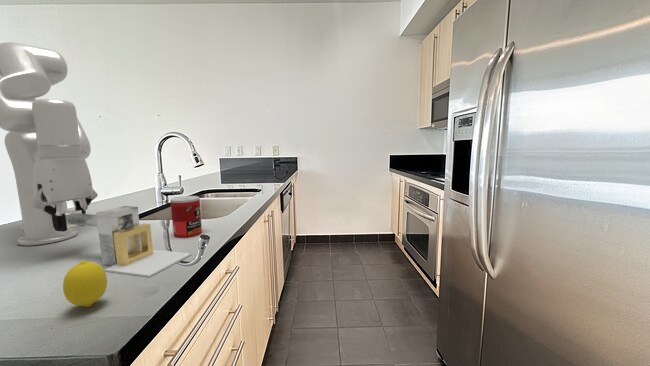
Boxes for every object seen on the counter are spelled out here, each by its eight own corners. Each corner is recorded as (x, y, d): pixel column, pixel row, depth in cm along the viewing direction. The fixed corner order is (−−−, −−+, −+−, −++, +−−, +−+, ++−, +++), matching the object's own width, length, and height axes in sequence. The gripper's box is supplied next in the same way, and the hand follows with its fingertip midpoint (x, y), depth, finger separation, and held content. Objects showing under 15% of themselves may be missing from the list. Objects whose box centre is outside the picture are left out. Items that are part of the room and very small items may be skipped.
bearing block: (102, 264, 64) (95, 212, 63) (129, 253, 71) (124, 206, 69) (116, 266, 63) (109, 213, 62) (142, 254, 70) (137, 206, 68)
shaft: (58, 227, 69) (56, 212, 68) (74, 223, 72) (72, 209, 72) (115, 232, 64) (113, 216, 64) (130, 227, 68) (128, 213, 67)
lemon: (83, 298, 50) (77, 255, 49) (116, 296, 51) (111, 253, 49) (57, 317, 45) (49, 269, 44) (94, 315, 45) (88, 267, 44)
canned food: (191, 238, 82) (188, 200, 80) (167, 237, 83) (163, 200, 82) (207, 230, 89) (205, 196, 88) (184, 229, 91) (182, 195, 89)
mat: (104, 271, 61) (104, 269, 61) (151, 250, 72) (151, 249, 72) (149, 277, 58) (149, 275, 58) (191, 255, 69) (191, 253, 69)
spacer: (117, 265, 63) (113, 232, 62) (146, 252, 70) (143, 223, 69) (124, 266, 62) (120, 233, 61) (153, 253, 69) (150, 224, 68)
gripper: (86, 152, 77) (94, 218, 79) (3, 155, 61) (17, 237, 63) (107, 152, 75) (115, 220, 77) (28, 155, 59) (41, 240, 61)
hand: (71, 227), depth 70 cm, fingers closed on shaft, 3 cm apart
